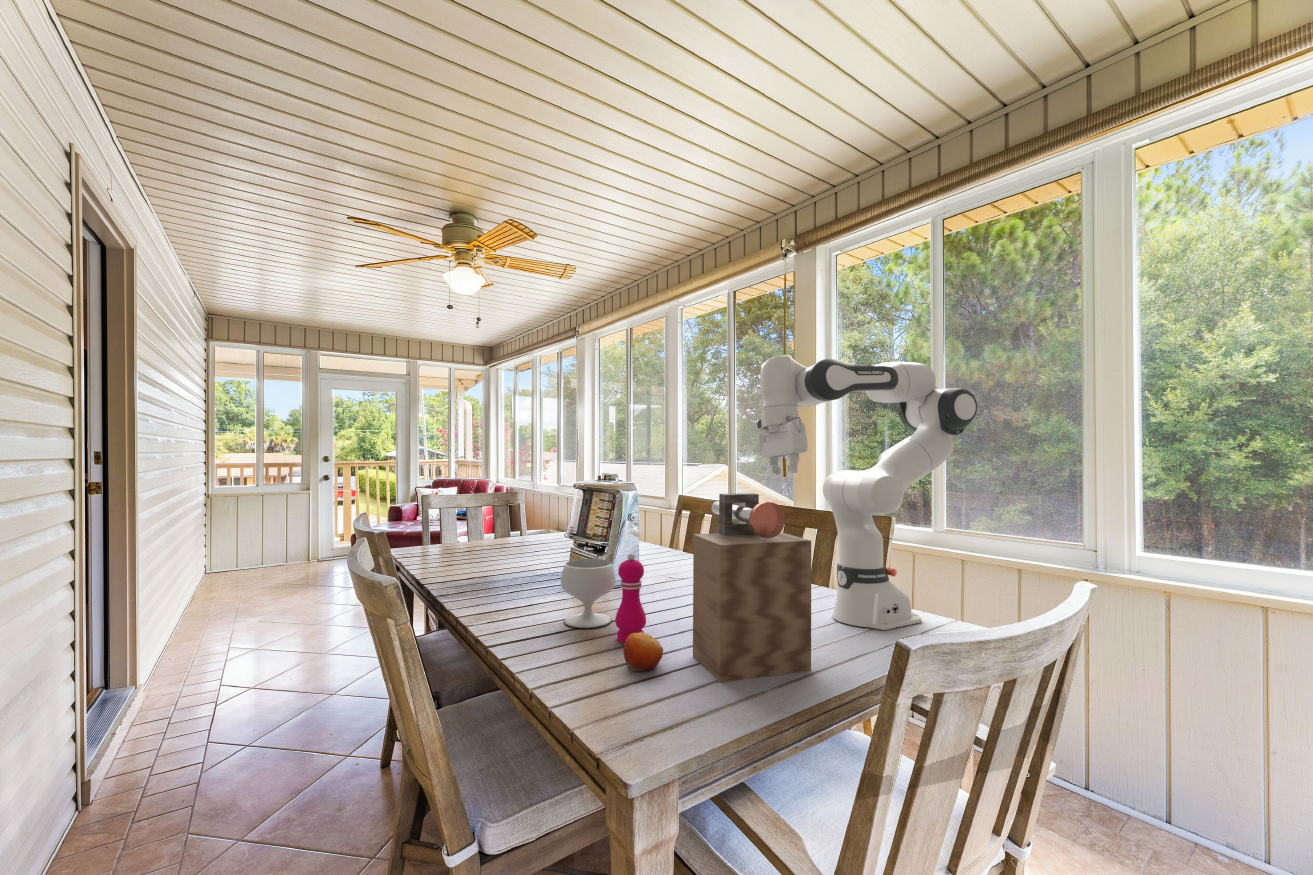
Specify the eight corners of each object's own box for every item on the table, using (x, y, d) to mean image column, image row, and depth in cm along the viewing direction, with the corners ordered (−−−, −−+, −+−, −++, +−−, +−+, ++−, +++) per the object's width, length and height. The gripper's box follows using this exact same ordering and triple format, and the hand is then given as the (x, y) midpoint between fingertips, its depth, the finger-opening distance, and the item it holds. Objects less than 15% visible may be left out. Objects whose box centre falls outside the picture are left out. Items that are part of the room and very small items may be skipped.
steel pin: (730, 521, 133) (730, 492, 134) (785, 537, 110) (785, 501, 110) (703, 522, 131) (703, 493, 132) (753, 538, 108) (753, 502, 108)
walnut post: (775, 646, 125) (776, 492, 126) (811, 670, 112) (811, 497, 113) (692, 656, 119) (693, 494, 120) (719, 682, 106) (720, 499, 107)
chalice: (569, 612, 151) (570, 556, 151) (620, 615, 149) (620, 558, 149) (552, 629, 137) (553, 567, 137) (608, 632, 135) (609, 569, 135)
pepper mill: (647, 634, 133) (648, 550, 133) (644, 645, 126) (644, 556, 126) (617, 633, 133) (618, 549, 134) (612, 644, 126) (613, 555, 127)
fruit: (608, 657, 114) (628, 621, 116) (639, 673, 117) (657, 637, 118) (622, 672, 107) (642, 633, 109) (654, 688, 109) (673, 650, 111)
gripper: (811, 412, 132) (816, 471, 130) (775, 424, 151) (778, 475, 150) (787, 413, 130) (791, 472, 129) (753, 424, 150) (756, 476, 149)
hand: (784, 473), depth 140 cm, fingers open, 8 cm apart
